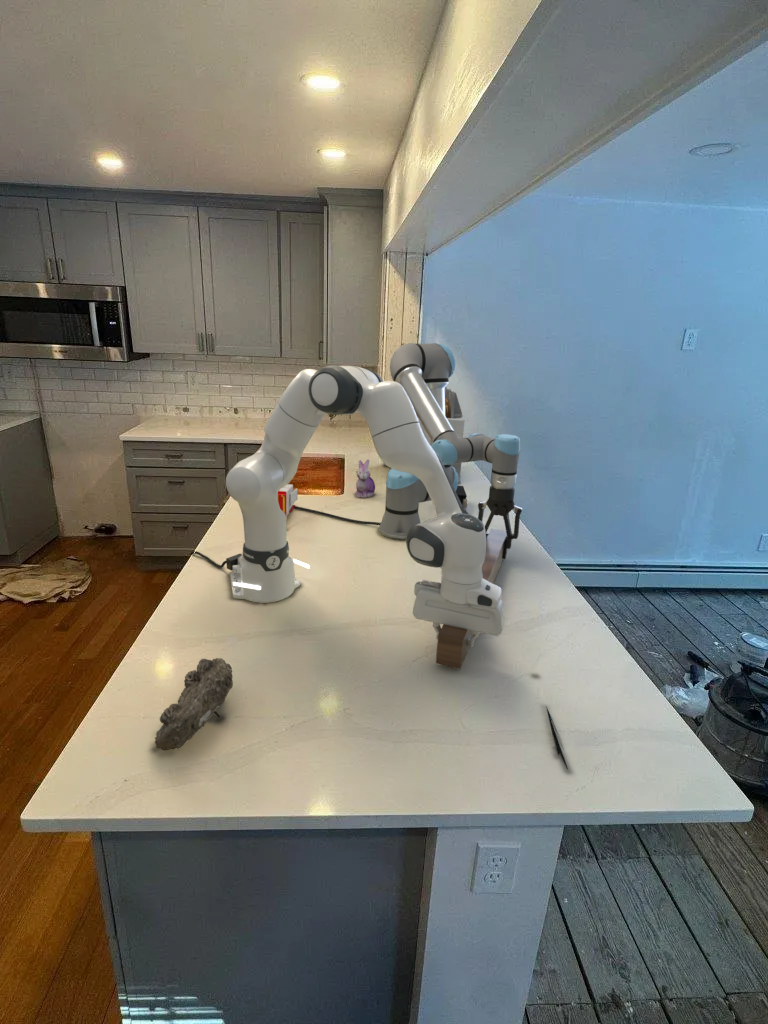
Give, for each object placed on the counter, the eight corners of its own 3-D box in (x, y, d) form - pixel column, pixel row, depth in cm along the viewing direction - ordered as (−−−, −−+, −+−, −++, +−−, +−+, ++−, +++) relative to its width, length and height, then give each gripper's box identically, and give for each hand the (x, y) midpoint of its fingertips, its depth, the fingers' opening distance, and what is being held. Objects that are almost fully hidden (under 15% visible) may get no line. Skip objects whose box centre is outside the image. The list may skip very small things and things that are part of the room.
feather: (536, 679, 125) (541, 673, 125) (567, 774, 99) (575, 766, 98) (529, 675, 125) (535, 669, 124) (559, 769, 98) (567, 762, 98)
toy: (299, 479, 223) (289, 492, 194) (299, 512, 226) (289, 530, 197) (268, 478, 223) (253, 491, 193) (268, 512, 225) (254, 529, 196)
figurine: (360, 499, 233) (361, 464, 228) (349, 492, 242) (350, 458, 237) (380, 497, 237) (381, 462, 232) (369, 490, 246) (370, 456, 241)
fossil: (182, 659, 118) (233, 627, 113) (214, 689, 120) (265, 659, 115) (130, 744, 98) (189, 710, 93) (170, 778, 101) (229, 746, 96)
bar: (488, 549, 187) (491, 528, 184) (505, 552, 185) (508, 531, 183) (435, 663, 125) (438, 634, 122) (460, 669, 123) (463, 639, 121)
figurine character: (467, 516, 223) (461, 500, 237) (469, 499, 220) (463, 483, 233) (450, 516, 223) (446, 499, 236) (452, 498, 220) (447, 483, 233)
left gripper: (411, 584, 124) (407, 638, 129) (505, 603, 118) (497, 659, 123) (419, 572, 130) (415, 625, 134) (509, 589, 124) (501, 644, 128)
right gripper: (470, 485, 172) (463, 555, 180) (532, 493, 166) (522, 565, 174) (474, 478, 179) (468, 546, 186) (534, 486, 173) (525, 556, 181)
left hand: (455, 641), depth 129 cm, fingers closed on bar, 5 cm apart
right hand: (494, 555), depth 180 cm, fingers closed on bar, 5 cm apart
